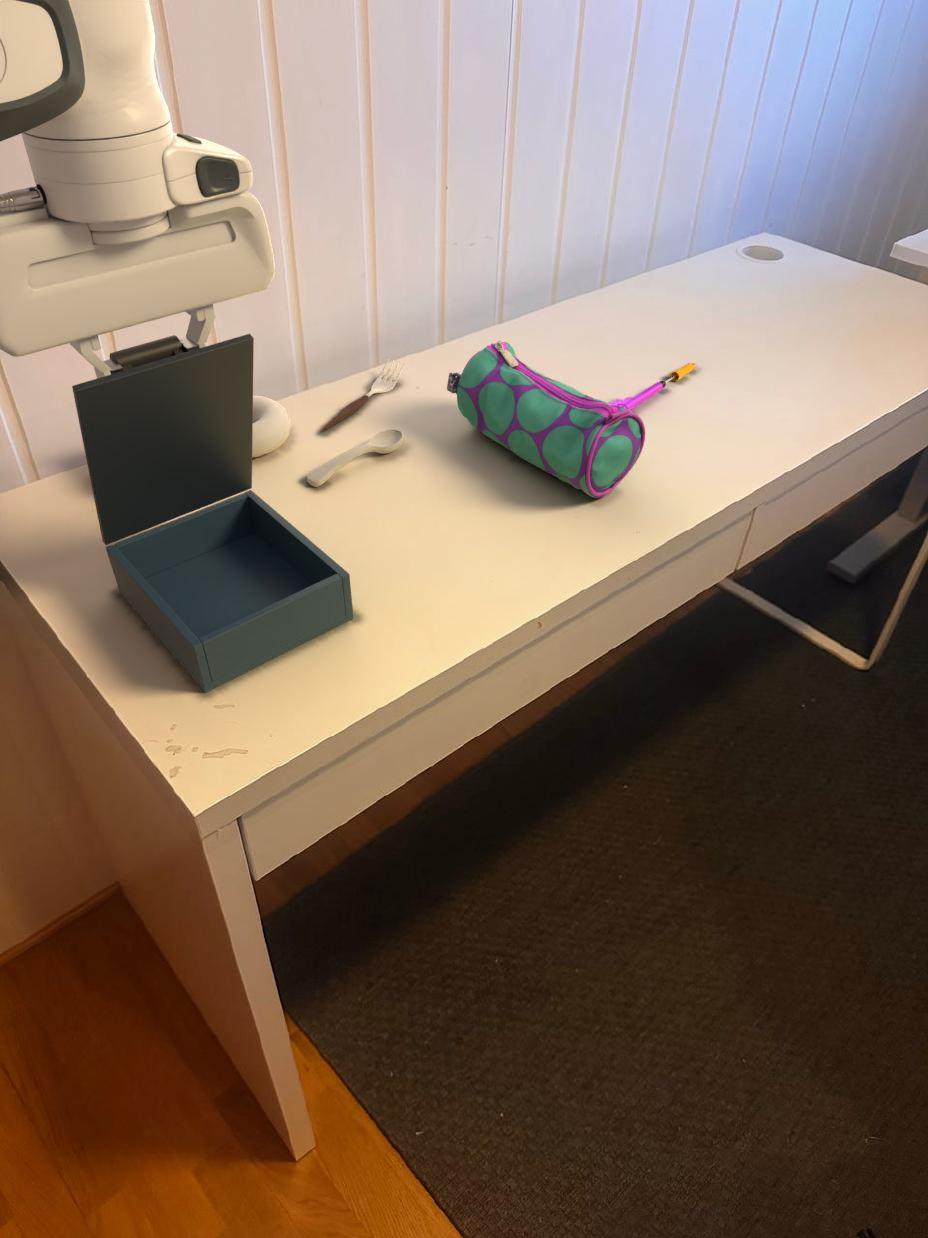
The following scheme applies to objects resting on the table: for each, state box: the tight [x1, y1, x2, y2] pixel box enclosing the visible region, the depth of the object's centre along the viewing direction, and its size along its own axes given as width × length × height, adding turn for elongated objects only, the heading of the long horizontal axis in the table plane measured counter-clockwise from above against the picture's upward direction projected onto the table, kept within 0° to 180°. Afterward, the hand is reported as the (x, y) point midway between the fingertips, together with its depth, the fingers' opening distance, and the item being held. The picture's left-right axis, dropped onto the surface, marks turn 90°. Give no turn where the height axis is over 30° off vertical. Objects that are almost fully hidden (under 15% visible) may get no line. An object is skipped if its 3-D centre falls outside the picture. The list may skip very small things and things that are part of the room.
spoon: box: [306, 428, 405, 488], centre depth 91 cm, size 3×12×2 cm, turn 135°
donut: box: [252, 394, 292, 459], centre depth 93 cm, size 10×4×10 cm
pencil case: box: [446, 340, 646, 499], centre depth 90 cm, size 21×9×10 cm, turn 39°
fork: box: [320, 358, 406, 433], centre depth 100 cm, size 3×16×2 cm, turn 153°
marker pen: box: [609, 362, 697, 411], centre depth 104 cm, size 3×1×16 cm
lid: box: [71, 333, 255, 546], centre depth 70 cm, size 16×13×4 cm
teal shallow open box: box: [105, 489, 354, 693], centre depth 73 cm, size 15×13×5 cm
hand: (156, 375), depth 66 cm, fingers closed on lid, 5 cm apart
